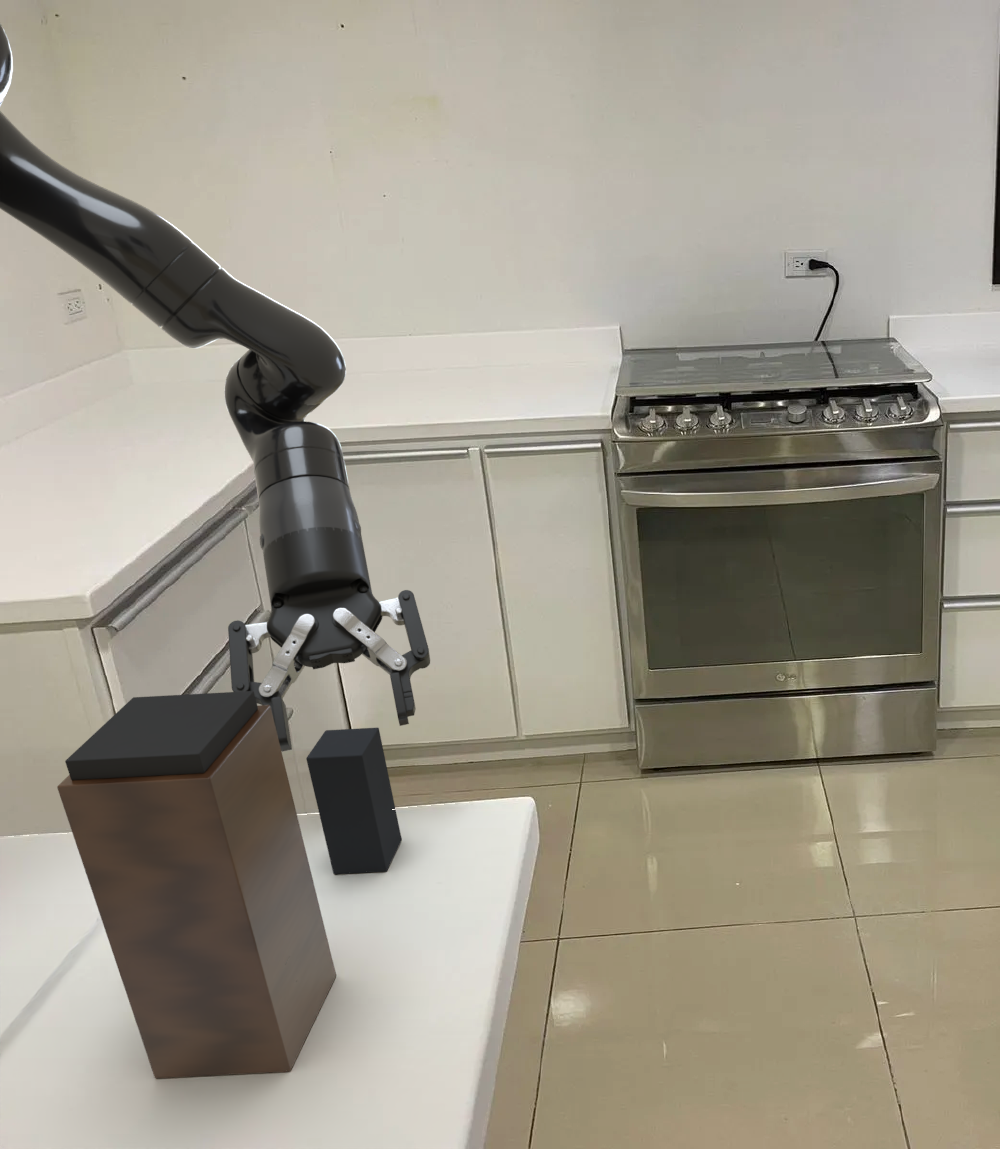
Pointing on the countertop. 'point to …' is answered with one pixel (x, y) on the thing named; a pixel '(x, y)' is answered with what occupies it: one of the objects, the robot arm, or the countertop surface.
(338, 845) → the foam block
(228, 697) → the rubber pad
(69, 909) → the countertop surface
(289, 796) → the block
